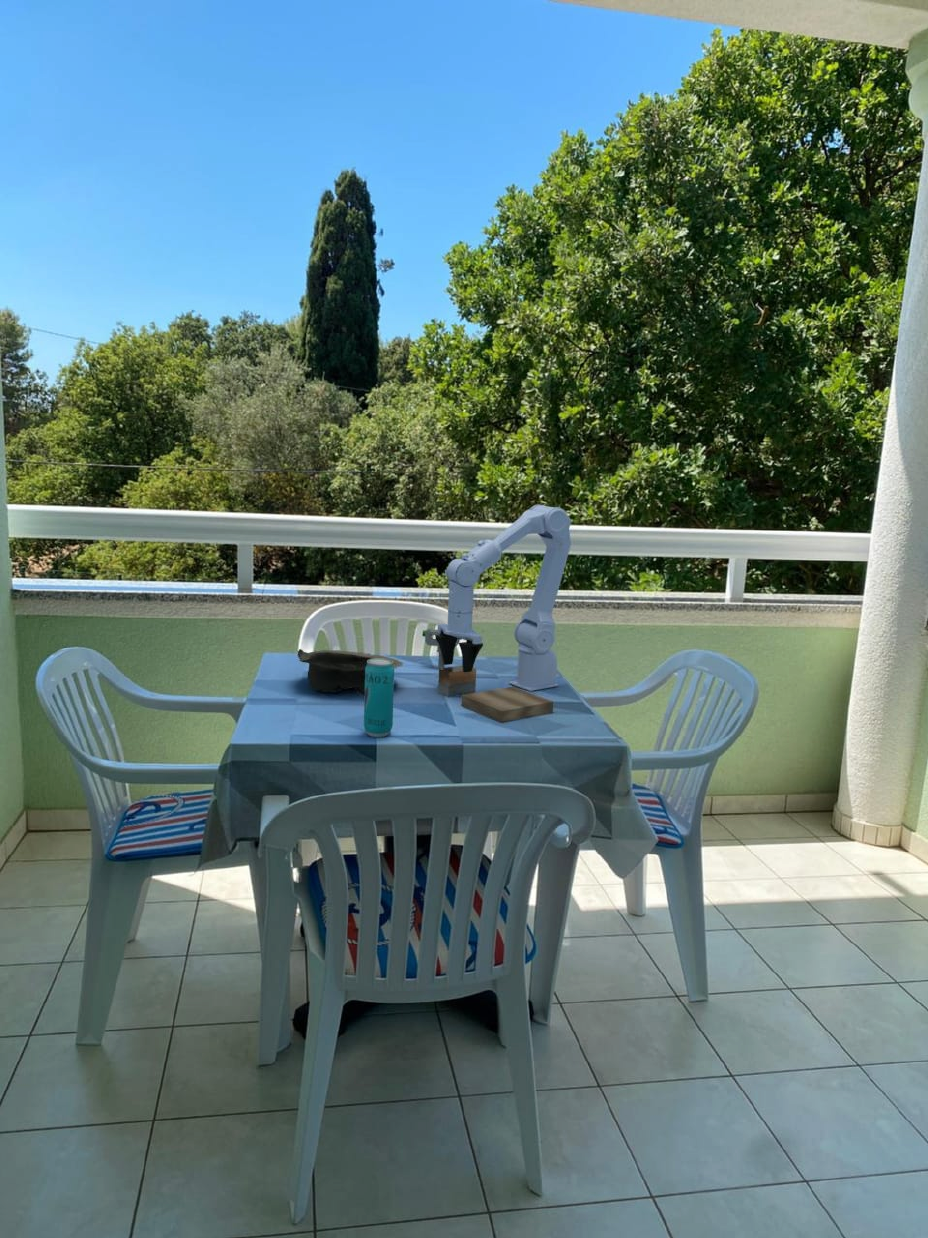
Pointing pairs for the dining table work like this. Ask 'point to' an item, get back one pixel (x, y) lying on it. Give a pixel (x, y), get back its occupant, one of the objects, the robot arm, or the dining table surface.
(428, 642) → the mechanical component
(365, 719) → the beverage can
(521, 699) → the walnut stand
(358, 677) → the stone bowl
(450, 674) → the brown rectangular block
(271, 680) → the dining table surface
